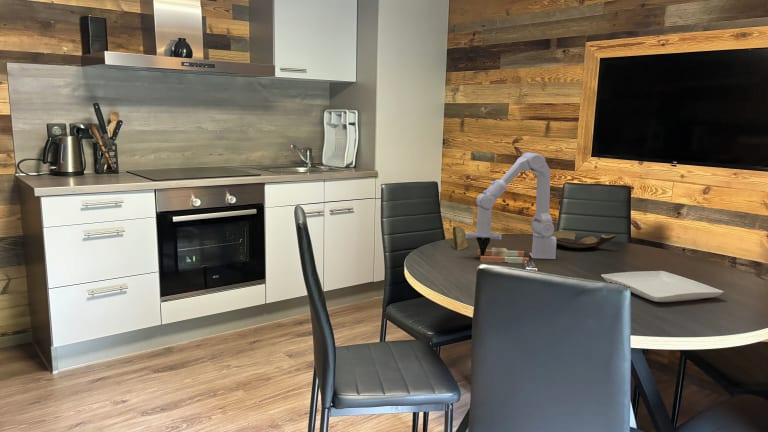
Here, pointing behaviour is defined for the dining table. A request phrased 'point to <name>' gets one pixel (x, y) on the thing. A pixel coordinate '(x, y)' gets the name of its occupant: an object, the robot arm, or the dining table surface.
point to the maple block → (499, 252)
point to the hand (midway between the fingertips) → (482, 255)
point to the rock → (459, 238)
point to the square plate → (662, 286)
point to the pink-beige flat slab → (504, 259)
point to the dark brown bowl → (569, 238)
